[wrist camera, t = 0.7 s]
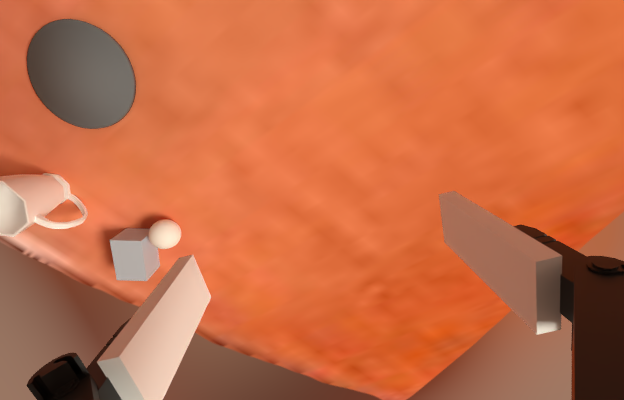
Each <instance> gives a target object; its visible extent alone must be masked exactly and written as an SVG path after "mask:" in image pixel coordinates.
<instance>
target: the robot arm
mask: <svg viewBox="0 0 624 400" xmlns="http://www.w3.org/2000/svg"><path fill="white" fill-rule="evenodd" d="M439 200H440V208H441V216H442V225H443V233H444V241H445V243H446V244H447V245H448V246H449V247H450V248H451V249H452V250H453V251H454V252H455V253H456V254H457V255H458V256H459V257H460V258H461V259H462V260H463V261H464V262H465V263H466V264H467V265H468V266H469V267H470V268H471V269H472V270H473V271H474V272H475V273H476V274H477V275H478V276H479V277H480V278H481V279H482V280H483V281H484V282H485V283H486V284H487V285H488V286H489V287H490V288H491V289H492V290H493V291H494V292H495V293H496V294H497V295H498V296H499V297H500V298H501V299H502V300H503V301H504V302H505V303H506V304H507V305H508V306H509V307H510V308H511V309H512V310H513V311H514V312H515V313H516V314H517V315H518V316H519V317H520V318H521V319H522V320H523V321H524V322H525V323H526V324H527V325H528V326H529V327H530V328H531V329H532V330H533V331H534V332H535V333H536V334H542V333H546V332H551V331H556V330H560V329H561V314H562V315H563V316H564V317H566V318H567V319H568V320H569V321H571V322H572V347H571V350H572V400H624V261H621V260H618V259H615V258H610V257H604V256H588V257H586V256H585V255H583V254H581V253H579V252H577V251H576V250H574V249H572V248H570V247H568V246H566V245H565V244H563V243H561V242H559V241H556V239H554V238H552V237H550V236H547V235H546V234H545V233H543V232H541V231H539V230H537V229H535V228H532V227H528V226H524V225H517V226H512V225H510V224H508V223H507V222H505V221H503V220H502V219H500V218H498V217H497V216H495V215H493V214H492V213H490V212H488V211H487V210H485V209H483V208H482V207H480V206H478V205H477V204H475V203H473V202H472V201H470V200H468V199H467V198H465V197H463V196H462V195H460V194H458V193H457V192H455V191H451V192H447V193H443V194H439ZM210 299H211V295H210V293H209V291H208V288H207V286H206V284H205V281H204V279H203V277H202V274H201V272H200V270H199V267H198V265H197V263H196V261H195V258H194V256H193V255H189V256H185V257H181V258H179V259H178V260H177V261H176V263H175V264H174V265H173V266H172V268H171V269H170V270H169V271H168V273H167V274H166V275H165V276H164V278H163V279H162V280H161V282H160V283H159V284H158V285H157V287H156V288H155V289H154V290H153V292H152V293H151V294H150V295H149V297H148V298H147V299H146V300H145V302H144V303H143V304H142V305H141V307H140V308H139V309H138V310H137V312H136V313H135V314H134V316H133V317H132V318H130V319H129V320H128V321H127V322H125V323H124V324H123V325H122V326H121V327H120V328H119V329H118V330H117V332H116V333H115V334H114V335H113V338H111V339H110V340H109V341H108V343H107V344H106V346H105V347H104V348H103V349H102V350H101V351H100V353H99V354H98V355H97V356H96V357H95V359H94V360H93V361H92V362H91V364H90V365H89V366H88V367H87V368H86V367H85V366H84V364H83V363H82V361H81V360H80V358H79V357H78V355H77V354H76V353H68V354H65V355H62V356H60V357H58V358H56V359H54V360H52V361H51V362H49V363H48V364H46V365H45V366H43V367H42V368H41V369H40V370H39V371H37V372H36V373H35V374H34V375H33V376H32V377H31V379H30V380H29V381H28V384H27V387H28V388H29V390H30V391H31V392H32V393H33V395H34V396H35V397H36V399H37V400H163V398H164V396H165V394H166V391H167V389H168V387H169V385H170V383H171V381H172V379H173V377H174V375H175V373H176V370H177V368H178V366H179V364H180V362H181V360H182V358H183V356H184V354H185V351H186V349H187V347H188V345H189V343H190V341H191V339H192V337H193V335H194V332H195V330H196V328H197V326H198V324H199V322H200V320H201V318H202V316H203V313H204V311H205V309H206V307H207V305H208V303H209V301H210Z"/></svg>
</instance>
